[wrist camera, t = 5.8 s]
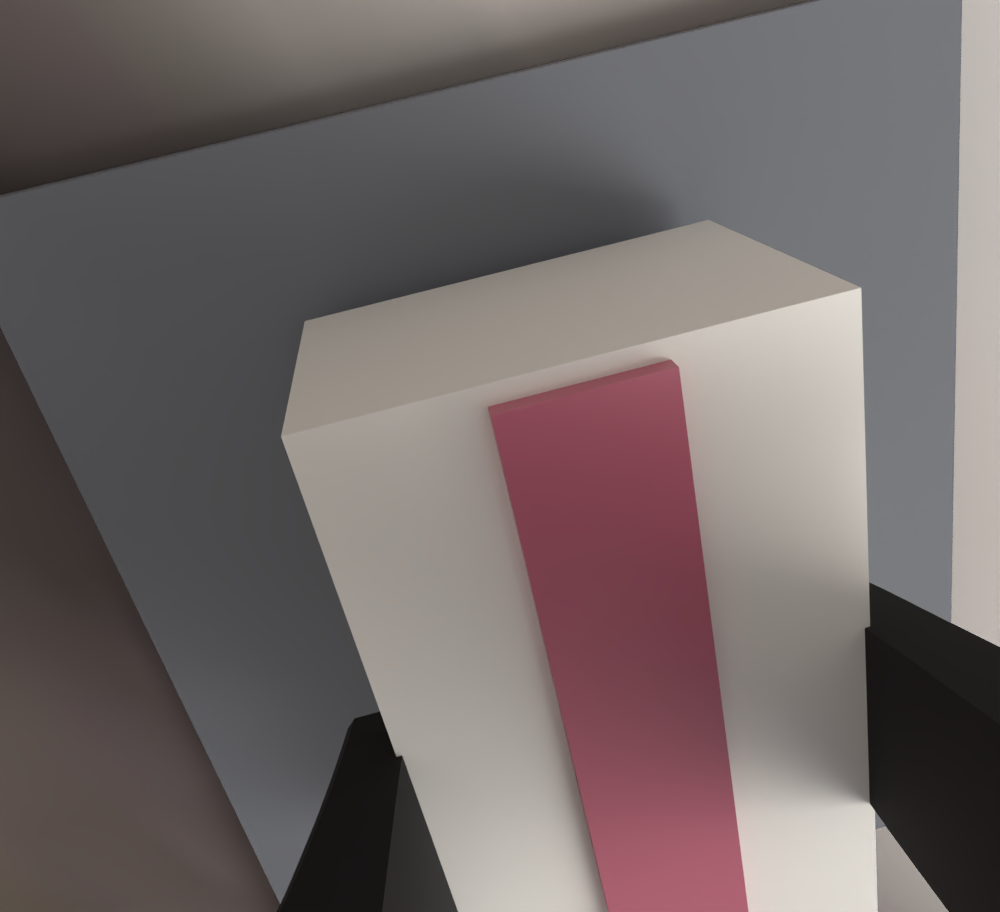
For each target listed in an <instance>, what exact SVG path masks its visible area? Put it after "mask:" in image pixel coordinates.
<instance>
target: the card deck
mask: <svg viewBox="0 0 1000 912" xmlns="http://www.w3.org/2000/svg"><path fill="white" fill-rule="evenodd" d="M281 438H282V441H283V444H284V446H285V449H286V452H287V455H288V457H289V460H290V463H291V466H292V469H293V471H294V474H295V477H296V480H297V482H298V485H299V488H300V491H301V494H302V496H303V499H304V502H305V505H306V507H307V510H308V513H309V516H310V518H311V521H312V524H313V527H314V530H315V532H316V535H317V538H318V541H319V543H320V546H321V549H322V552H323V555H324V557H325V560H326V563H327V566H328V568H329V571H330V574H331V577H332V580H333V582H334V585H335V588H336V591H337V593H338V596H339V599H340V602H341V604H342V607H343V610H344V613H345V616H346V618H347V621H348V624H349V627H350V629H351V632H352V635H353V638H354V641H355V643H356V646H357V649H358V652H359V654H360V657H361V660H362V663H363V666H364V668H365V671H366V674H367V677H368V679H369V682H370V685H371V688H372V690H373V693H374V696H375V699H376V702H377V704H378V707H379V710H380V713H381V715H382V718H383V721H384V724H385V727H386V729H387V732H388V735H389V738H390V740H391V743H392V746H393V749H394V751H395V754H396V757H398V756H403V759H404V762H405V765H406V767H407V770H408V773H409V776H410V778H411V781H412V784H413V787H414V790H415V792H416V795H417V798H418V801H419V804H420V806H421V809H422V812H423V815H424V818H425V820H426V823H427V826H428V829H429V832H430V834H431V837H432V840H433V843H434V846H435V848H436V851H437V854H438V857H439V860H440V862H441V865H442V868H443V871H444V874H445V876H446V879H447V882H448V885H449V888H450V890H451V893H452V896H453V899H454V902H455V904H456V907H457V910H458V912H878V908H877V870H876V831H875V810H874V809H873V807H872V806H871V805H870V796H869V761H868V726H867V691H866V655H865V628H866V627H870V602H869V563H868V525H867V487H866V448H865V410H864V372H863V333H862V295H861V287H859V286H856V285H854V284H852V283H850V282H847V281H845V280H843V279H841V278H838V277H836V276H834V275H832V274H829V273H827V272H825V271H823V270H820V269H818V268H816V267H814V266H811V265H809V264H807V263H805V262H802V261H800V260H798V259H796V258H793V257H791V256H789V255H787V254H784V253H782V252H780V251H778V250H775V249H773V248H771V247H769V246H766V245H764V244H762V243H760V242H757V241H755V240H753V239H751V238H748V237H746V236H744V235H742V234H739V233H737V232H735V231H733V230H730V229H728V228H726V227H724V226H721V225H719V224H717V223H715V222H712V221H710V220H706V221H702V222H698V223H694V224H690V225H686V226H682V227H678V228H674V229H670V230H666V231H662V232H658V233H654V234H650V235H646V236H642V237H638V238H634V239H630V240H626V241H622V242H618V243H614V244H610V245H606V246H602V247H598V248H594V249H590V250H586V251H582V252H578V253H574V254H570V255H566V256H562V257H558V258H554V259H550V260H546V261H542V262H538V263H534V264H530V265H526V266H522V267H518V268H514V269H510V270H506V271H502V272H498V273H494V274H490V275H486V276H482V277H479V278H475V279H471V280H467V281H463V282H459V283H455V284H451V285H447V286H443V287H439V288H435V289H431V290H427V291H423V292H419V293H415V294H411V295H407V296H403V297H399V298H395V299H391V300H387V301H383V302H379V303H375V304H371V305H367V306H363V307H359V308H355V309H351V310H347V311H343V312H339V313H335V314H331V315H327V316H323V317H319V318H315V319H311V320H307V321H305V323H304V327H303V332H302V337H301V342H300V347H299V352H298V357H297V361H296V366H295V371H294V376H293V381H292V386H291V391H290V395H289V400H288V405H287V410H286V415H285V420H284V425H283V429H282V434H281Z"/></svg>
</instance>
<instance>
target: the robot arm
mask: <svg viewBox="0 0 1000 912" xmlns="http://www.w3.org/2000/svg"><path fill="white" fill-rule="evenodd" d="M869 602H870V627H866V628H865V655H866V691H867V726H868V761H869V796H870V805H871V806H872V807H873V809H874V810H875V812H876V813H877V814H878V816H879V817H880V819H881V820H882V821H883V823H884V824H885V825H886V827H887V828H888V830H889V831H890V832H891V834H892V835H893V836H894V838H895V839H896V841H897V842H898V843H899V845H900V846H901V847H902V849H903V850H904V852H905V853H906V854H907V856H908V857H909V858H910V860H911V861H912V863H913V864H914V865H915V867H916V868H917V869H918V871H919V872H920V873H921V875H922V876H923V877H924V879H925V880H926V881H927V883H928V884H929V886H930V887H931V888H932V890H933V891H934V892H935V894H936V895H937V896H938V898H939V899H940V900H941V902H942V903H943V904H944V906H945V907H946V909H947V910H948V911H949V912H1000V647H998V646H996V645H994V644H992V643H990V642H988V641H986V640H984V639H982V638H980V637H978V636H976V635H974V634H972V633H970V632H968V631H966V630H964V629H962V628H960V627H958V626H956V625H954V624H952V623H950V622H948V621H946V620H944V619H942V618H940V617H938V616H936V615H934V614H932V613H930V612H928V611H926V610H924V609H922V608H920V607H918V606H916V605H914V604H913V603H911V602H909V601H907V600H905V599H903V598H901V597H899V596H897V595H895V594H893V593H891V592H889V591H887V590H885V589H882V588H880V587H878V586H876V585H874V584H872V583H870V582H869ZM277 912H458V910H457V907H456V904H455V902H454V899H453V896H452V893H451V890H450V888H449V885H448V882H447V879H446V876H445V874H444V871H443V868H442V865H441V862H440V860H439V857H438V854H437V851H436V848H435V846H434V843H433V840H432V837H431V834H430V832H429V829H428V826H427V823H426V820H425V818H424V815H423V812H422V809H421V806H420V804H419V801H418V798H417V795H416V792H415V790H414V787H413V784H412V781H411V778H410V776H409V773H408V770H407V767H406V765H405V762H404V759H403V756H398V757H396V754H395V751H394V749H393V746H392V743H391V740H390V738H389V735H388V732H387V729H386V727H385V724H384V721H383V718H382V715H381V713H380V712H376V713H372V714H369V715H365V716H361V717H358V718H354V720H353V721H352V723H351V724H350V726H349V727H348V729H347V733H346V736H345V739H344V742H343V745H342V748H341V751H340V754H339V757H338V760H337V763H336V766H335V769H334V772H333V775H332V778H331V781H330V783H329V786H328V789H327V792H326V794H325V797H324V800H323V802H322V805H321V808H320V810H319V813H318V816H317V818H316V821H315V823H314V826H313V828H312V831H311V833H310V836H309V838H308V840H307V843H306V845H305V848H304V850H303V853H302V855H301V857H300V860H299V862H298V865H297V867H296V869H295V872H294V874H293V877H292V879H291V881H290V884H289V886H288V888H287V891H286V893H285V895H284V897H283V899H282V902H281V904H280V906H279V908H278V910H277Z"/></svg>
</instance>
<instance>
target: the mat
mask: <svg viewBox="0 0 1000 912" xmlns="http://www.w3.org/2000/svg"><path fill="white" fill-rule="evenodd" d="M961 18H962V0H810V1H806V2H802V3H798V4H793V5H789V6H785V7H781V8H777V9H773V10H768V11H764V12H760V13H756V14H752V15H748V16H743V17H739V18H735V19H731V20H727V21H723V22H719V23H714V24H710V25H706V26H702V27H698V28H694V29H689V30H685V31H681V32H677V33H673V34H669V35H664V36H660V37H656V38H652V39H648V40H644V41H639V42H635V43H631V44H627V45H623V46H619V47H614V48H610V49H606V50H602V51H598V52H594V53H589V54H585V55H581V56H577V57H573V58H569V59H565V60H560V61H556V62H552V63H548V64H544V65H540V66H535V67H531V68H527V69H523V70H519V71H515V72H510V73H506V74H502V75H498V76H494V77H490V78H485V79H481V80H477V81H473V82H469V83H465V84H460V85H456V86H452V87H448V88H444V89H440V90H435V91H431V92H427V93H423V94H419V95H415V96H411V97H406V98H402V99H398V100H394V101H390V102H386V103H381V104H377V105H373V106H369V107H365V108H361V109H356V110H352V111H348V112H344V113H340V114H336V115H331V116H327V117H323V118H319V119H315V120H311V121H306V122H302V123H298V124H294V125H290V126H286V127H281V128H277V129H273V130H269V131H265V132H261V133H256V134H252V135H248V136H244V137H240V138H236V139H232V140H227V141H223V142H219V143H215V144H211V145H207V146H202V147H198V148H194V149H190V150H186V151H182V152H177V153H173V154H169V155H165V156H161V157H157V158H152V159H148V160H144V161H140V162H136V163H132V164H127V165H123V166H119V167H115V168H111V169H107V170H102V171H98V172H94V173H90V174H86V175H82V176H78V177H73V178H69V179H65V180H61V181H57V182H53V183H48V184H44V185H40V186H36V187H32V188H28V189H23V190H19V191H15V192H11V193H7V194H3V195H0V328H1V330H2V332H3V334H4V336H5V338H6V340H7V342H8V344H9V346H10V348H11V350H12V352H13V355H14V357H15V359H16V361H17V363H18V365H19V367H20V369H21V371H22V373H23V375H24V377H25V379H26V381H27V383H28V385H29V388H30V390H31V392H32V394H33V396H34V398H35V400H36V402H37V404H38V406H39V408H40V410H41V412H42V414H43V416H44V418H45V421H46V423H47V425H48V427H49V429H50V431H51V433H52V435H53V437H54V439H55V441H56V443H57V445H58V447H59V449H60V451H61V454H62V456H63V458H64V460H65V462H66V464H67V466H68V468H69V470H70V472H71V474H72V476H73V478H74V480H75V482H76V484H77V487H78V489H79V491H80V493H81V495H82V497H83V499H84V501H85V503H86V505H87V507H88V509H89V511H90V513H91V515H92V517H93V520H94V522H95V524H96V526H97V528H98V530H99V532H100V534H101V536H102V538H103V540H104V542H105V544H106V546H107V548H108V550H109V553H110V555H111V557H112V559H113V561H114V563H115V565H116V567H117V569H118V571H119V573H120V575H121V577H122V579H123V581H124V583H125V586H126V588H127V590H128V592H129V594H130V596H131V598H132V600H133V602H134V604H135V606H136V608H137V610H138V612H139V614H140V616H141V619H142V621H143V623H144V625H145V627H146V629H147V631H148V633H149V635H150V637H151V639H152V641H153V643H154V645H155V647H156V649H157V652H158V654H159V656H160V658H161V660H162V662H163V664H164V666H165V668H166V670H167V672H168V674H169V676H170V678H171V680H172V682H173V685H174V687H175V689H176V691H177V693H178V695H179V697H180V699H181V701H182V703H183V705H184V707H185V709H186V711H187V713H188V715H189V718H190V720H191V722H192V724H193V726H194V728H195V730H196V732H197V734H198V736H199V738H200V740H201V742H202V744H203V746H204V748H205V751H206V753H207V755H208V757H209V759H210V761H211V763H212V765H213V767H214V769H215V771H216V773H217V775H218V777H219V779H220V781H221V783H222V786H223V788H224V790H225V792H226V794H227V796H228V798H229V800H230V802H231V804H232V806H233V808H234V810H235V812H236V814H237V816H238V819H239V821H240V823H241V825H242V827H243V829H244V831H245V833H246V835H247V837H248V839H249V841H250V843H251V845H252V847H253V849H254V852H255V854H256V856H257V858H258V860H259V862H260V864H261V866H262V868H263V870H264V872H265V874H266V876H267V878H268V880H269V882H270V885H271V887H272V889H273V891H274V893H275V895H276V897H277V899H278V901H279V903H280V904H281V902H282V899H283V897H284V895H285V893H286V891H287V888H288V886H289V884H290V881H291V879H292V877H293V874H294V872H295V869H296V867H297V865H298V862H299V860H300V857H301V855H302V853H303V850H304V848H305V845H306V843H307V840H308V838H309V836H310V833H311V831H312V828H313V826H314V823H315V821H316V818H317V816H318V813H319V810H320V808H321V805H322V802H323V800H324V797H325V794H326V792H327V789H328V786H329V783H330V781H331V778H332V775H333V772H334V769H335V766H336V763H337V760H338V757H339V754H340V751H341V748H342V745H343V742H344V739H345V736H346V733H347V729H348V727H349V726H350V724H351V723H352V721H353V720H354V718H358V717H361V716H365V715H369V714H372V713H376V712H380V710H379V707H378V704H377V702H376V699H375V696H374V693H373V690H372V688H371V685H370V682H369V679H368V677H367V674H366V671H365V668H364V666H363V663H362V660H361V657H360V654H359V652H358V649H357V646H356V643H355V641H354V638H353V635H352V632H351V629H350V627H349V624H348V621H347V618H346V616H345V613H344V610H343V607H342V604H341V602H340V599H339V596H338V593H337V591H336V588H335V585H334V582H333V580H332V577H331V574H330V571H329V568H328V566H327V563H326V560H325V557H324V555H323V552H322V549H321V546H320V543H319V541H318V538H317V535H316V532H315V530H314V527H313V524H312V521H311V518H310V516H309V513H308V510H307V507H306V505H305V502H304V499H303V496H302V494H301V491H300V488H299V485H298V482H297V480H296V477H295V474H294V471H293V469H292V466H291V463H290V460H289V457H288V455H287V452H286V449H285V446H284V444H283V441H282V438H281V434H282V429H283V425H284V420H285V415H286V410H287V405H288V400H289V395H290V391H291V386H292V381H293V376H294V371H295V366H296V361H297V357H298V352H299V347H300V342H301V337H302V332H303V327H304V323H305V321H307V320H311V319H315V318H319V317H323V316H327V315H331V314H335V313H339V312H343V311H347V310H351V309H355V308H359V307H363V306H367V305H371V304H375V303H379V302H383V301H387V300H391V299H395V298H399V297H403V296H407V295H411V294H415V293H419V292H423V291H427V290H431V289H435V288H439V287H443V286H447V285H451V284H455V283H459V282H463V281H467V280H471V279H475V278H479V277H482V276H486V275H490V274H494V273H498V272H502V271H506V270H510V269H514V268H518V267H522V266H526V265H530V264H534V263H538V262H542V261H546V260H550V259H554V258H558V257H562V256H566V255H570V254H574V253H578V252H582V251H586V250H590V249H594V248H598V247H602V246H606V245H610V244H614V243H618V242H622V241H626V240H630V239H634V238H638V237H642V236H646V235H650V234H654V233H658V232H662V231H666V230H670V229H674V228H678V227H682V226H686V225H690V224H694V223H698V222H702V221H706V220H710V221H712V222H715V223H717V224H719V225H721V226H724V227H726V228H728V229H730V230H733V231H735V232H737V233H739V234H742V235H744V236H746V237H748V238H751V239H753V240H755V241H757V242H760V243H762V244H764V245H766V246H769V247H771V248H773V249H775V250H778V251H780V252H782V253H784V254H787V255H789V256H791V257H793V258H796V259H798V260H800V261H802V262H805V263H807V264H809V265H811V266H814V267H816V268H818V269H820V270H823V271H825V272H827V273H829V274H832V275H834V276H836V277H838V278H841V279H843V280H845V281H847V282H850V283H852V284H854V285H856V286H859V287H861V295H862V333H863V372H864V410H865V448H866V487H867V525H868V563H869V582H870V583H872V584H874V585H876V586H878V587H880V588H882V589H885V590H887V591H889V592H891V593H893V594H895V595H897V596H899V597H901V598H903V599H905V600H907V601H909V602H911V603H913V604H914V605H916V606H918V607H920V608H922V609H924V610H926V611H928V612H930V613H932V614H934V615H936V616H938V617H940V618H942V619H944V620H946V621H948V622H950V623H951V592H952V534H953V477H954V420H955V362H956V305H957V247H958V190H959V133H960V75H961ZM884 826H886V825H885V824H884V823H883V821H882V820H881V819H880V817H879V816H878V814H877V813H876V812H875V829H877V828H880V827H884Z"/></svg>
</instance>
